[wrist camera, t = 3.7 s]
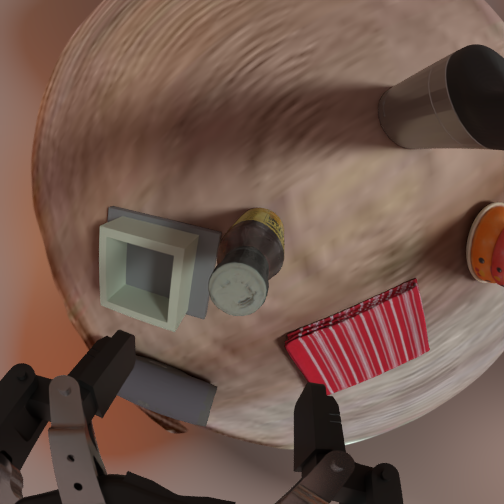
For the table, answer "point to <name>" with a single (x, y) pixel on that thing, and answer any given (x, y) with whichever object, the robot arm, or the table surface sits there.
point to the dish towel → (362, 339)
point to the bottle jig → (155, 267)
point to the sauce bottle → (247, 262)
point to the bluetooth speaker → (168, 391)
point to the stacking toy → (487, 245)
